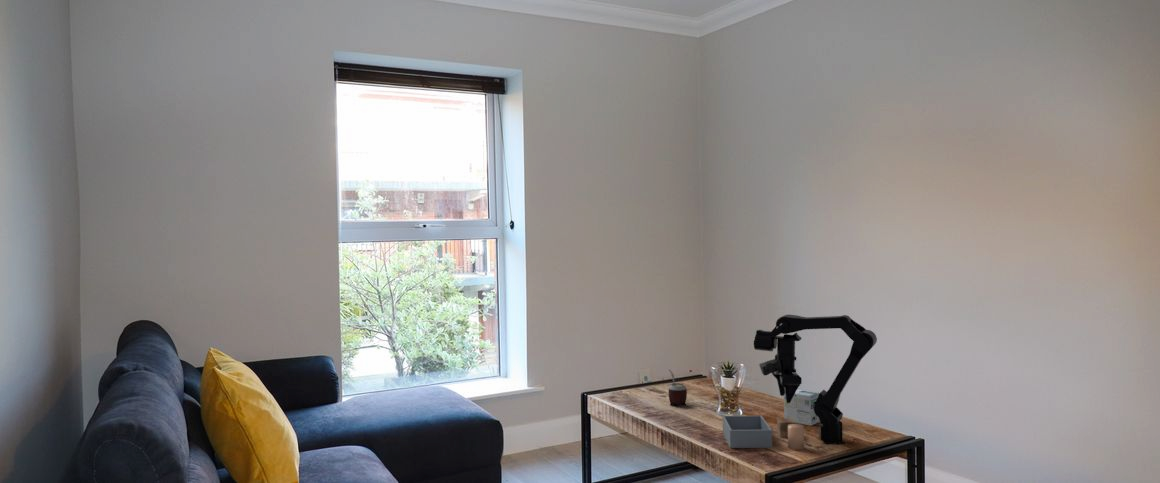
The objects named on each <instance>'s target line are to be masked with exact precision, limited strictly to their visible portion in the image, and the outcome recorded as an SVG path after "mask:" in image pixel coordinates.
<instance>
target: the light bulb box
mask: <svg viewBox="0 0 1160 483" xmlns="http://www.w3.org/2000/svg"><path fill="white" fill-rule="evenodd" d="M819 393H820V392H819V391H811V390H806V389H805V390H804V389H797V390H796V392H795V394H794V396H793V398H792V400H791V402H790V403H787V402H786V396H785V394H784V396H783V418H792V419H793V420H794V421H795V424H800V425H805V426H811V427H812V426H814V425H816V424H818V423H820V420H819V417H818V416H816V414H815V412H814V406H815V404H813V403H814V402H815V401H816V400H817V398H818V395H819Z"/></svg>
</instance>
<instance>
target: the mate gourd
mask: <svg viewBox="0 0 1160 483" xmlns="http://www.w3.org/2000/svg"><path fill="white" fill-rule="evenodd" d="M668 371H669V372H670V374H671V377H672V378H671V379H672V382H673V383H672V384H670V385H669V387H668V400H669V406H673V407H674V406H677V407H678V408H680V407H681V406H686V405H687V404H686V400H687V399H688V398H687V396H688V390H687V386H685V385H686V384H683V383H677V382H676V383H675V377H674V376H675V375H674V372H673V371H672V370H671V369H668Z"/></svg>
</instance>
